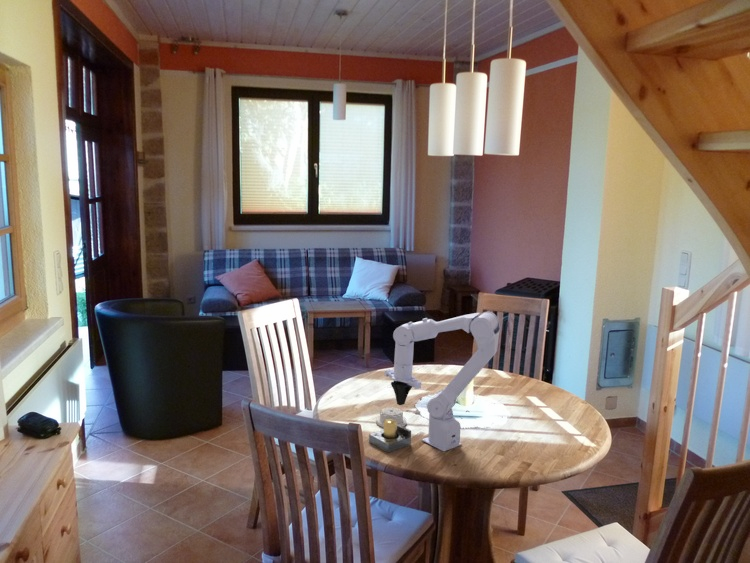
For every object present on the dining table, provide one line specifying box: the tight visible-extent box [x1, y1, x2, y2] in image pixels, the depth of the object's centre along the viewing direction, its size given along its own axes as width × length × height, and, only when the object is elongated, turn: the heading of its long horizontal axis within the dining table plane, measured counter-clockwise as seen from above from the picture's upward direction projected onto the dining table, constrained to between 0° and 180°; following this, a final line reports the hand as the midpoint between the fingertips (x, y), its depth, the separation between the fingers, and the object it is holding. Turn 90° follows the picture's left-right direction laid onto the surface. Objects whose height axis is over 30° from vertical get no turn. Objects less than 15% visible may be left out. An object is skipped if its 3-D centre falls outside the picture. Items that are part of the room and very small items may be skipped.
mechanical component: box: [375, 406, 407, 429], centre depth 197 cm, size 10×4×10 cm
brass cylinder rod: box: [383, 419, 397, 439], centre depth 181 cm, size 4×4×7 cm
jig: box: [368, 424, 412, 453], centre depth 181 cm, size 9×9×4 cm
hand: (400, 404), depth 187 cm, fingers closed
